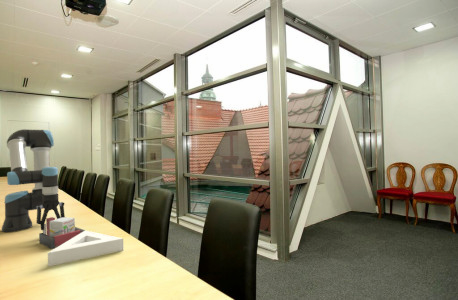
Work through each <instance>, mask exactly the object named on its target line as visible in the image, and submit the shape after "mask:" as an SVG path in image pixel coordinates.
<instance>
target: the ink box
mask: <svg viewBox="0 0 458 300" xmlns="http://www.w3.org/2000/svg"><path fill="white" fill-rule="evenodd" d="M75 220H76V219H75V217H67V216H65V217H64V218H63V217H62V218H59V219H57V218H55V220H53V221H50V222H49V224H50V236H51V237H53V238H54V236H57V235H61V234H65V233H69V232H73V231H75V227H76V224H75V223H76V221H75Z"/></svg>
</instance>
